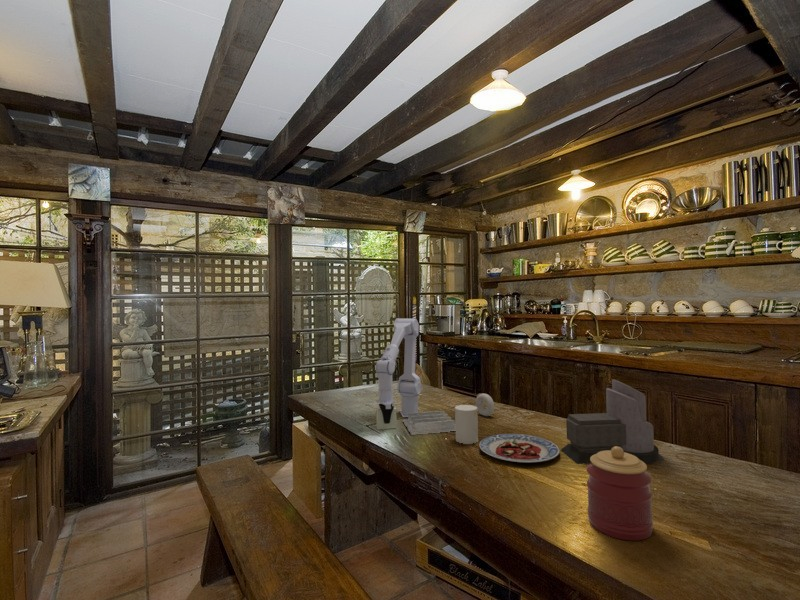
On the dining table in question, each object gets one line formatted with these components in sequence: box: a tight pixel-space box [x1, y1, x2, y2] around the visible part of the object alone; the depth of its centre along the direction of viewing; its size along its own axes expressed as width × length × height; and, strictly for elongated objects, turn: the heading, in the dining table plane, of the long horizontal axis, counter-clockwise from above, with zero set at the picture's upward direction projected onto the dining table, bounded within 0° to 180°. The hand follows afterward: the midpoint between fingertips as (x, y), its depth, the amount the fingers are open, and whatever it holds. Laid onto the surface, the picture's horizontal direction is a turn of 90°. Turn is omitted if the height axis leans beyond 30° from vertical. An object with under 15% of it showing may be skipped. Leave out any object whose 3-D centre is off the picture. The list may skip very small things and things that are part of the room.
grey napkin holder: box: [560, 379, 665, 465], centre depth 132 cm, size 30×16×24 cm, turn 93°
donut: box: [475, 393, 495, 417], centre depth 179 cm, size 10×3×10 cm, turn 35°
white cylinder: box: [454, 404, 479, 445], centre depth 149 cm, size 8×8×12 cm
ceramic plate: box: [478, 433, 560, 463], centre depth 136 cm, size 26×26×3 cm
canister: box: [586, 446, 654, 542], centre depth 91 cm, size 13×13×18 cm
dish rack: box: [402, 410, 456, 436], centre depth 166 cm, size 18×20×4 cm
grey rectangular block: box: [375, 406, 398, 431], centre depth 165 cm, size 2×8×8 cm, turn 99°
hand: (386, 422), depth 165 cm, fingers closed on grey rectangular block, 2 cm apart
